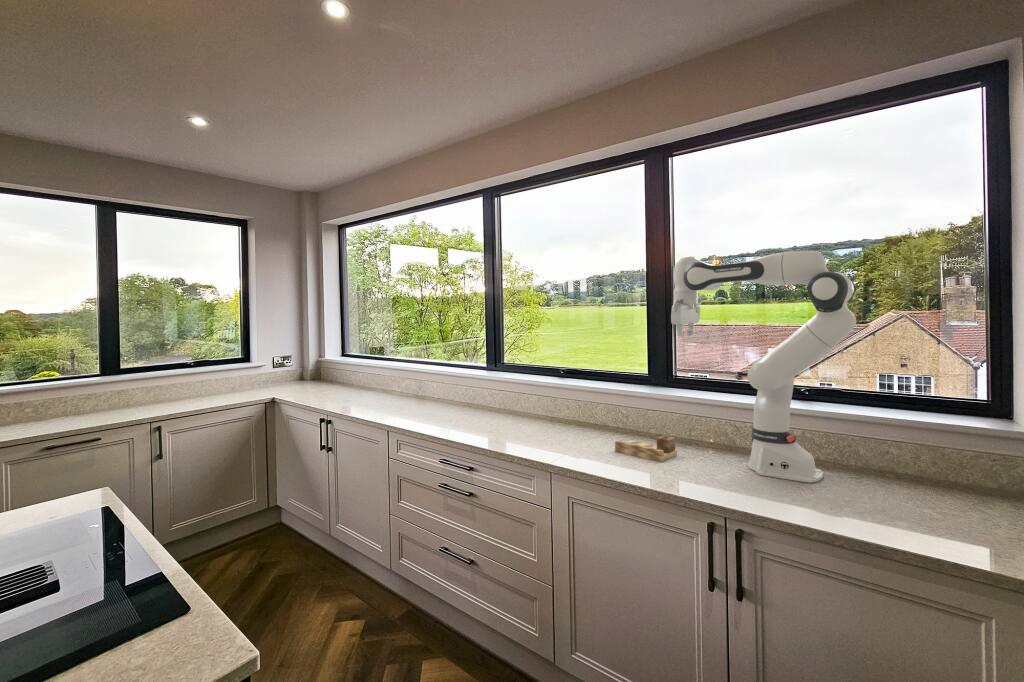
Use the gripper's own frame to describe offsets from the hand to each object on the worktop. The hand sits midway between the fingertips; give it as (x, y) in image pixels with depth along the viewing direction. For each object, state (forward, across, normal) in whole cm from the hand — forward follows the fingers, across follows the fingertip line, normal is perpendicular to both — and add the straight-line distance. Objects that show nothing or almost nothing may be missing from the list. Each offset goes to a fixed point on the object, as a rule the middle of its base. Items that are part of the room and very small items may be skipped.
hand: (685, 335), depth 185 cm
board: (+46, -12, +11) cm, 48 cm away
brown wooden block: (+44, -10, +3) cm, 45 cm away
